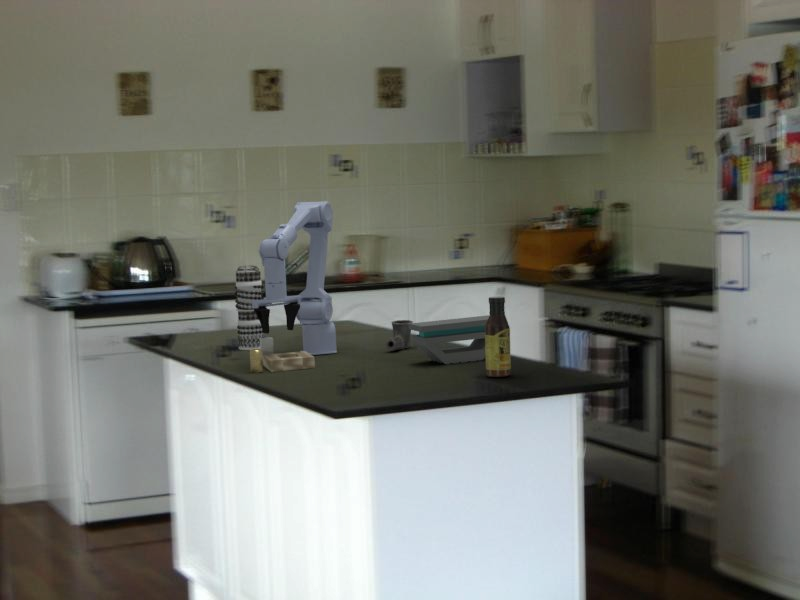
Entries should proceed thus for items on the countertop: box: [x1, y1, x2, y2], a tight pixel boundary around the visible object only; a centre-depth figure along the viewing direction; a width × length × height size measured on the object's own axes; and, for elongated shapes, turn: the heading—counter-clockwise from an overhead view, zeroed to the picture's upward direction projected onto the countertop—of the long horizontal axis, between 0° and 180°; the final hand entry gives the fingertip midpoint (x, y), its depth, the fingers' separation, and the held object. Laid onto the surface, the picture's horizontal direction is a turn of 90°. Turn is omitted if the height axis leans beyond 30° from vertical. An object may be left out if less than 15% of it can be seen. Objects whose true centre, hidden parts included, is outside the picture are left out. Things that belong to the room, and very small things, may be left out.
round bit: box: [249, 349, 264, 374], centre depth 339 cm, size 3×3×6 cm
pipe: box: [385, 319, 414, 352], centre depth 368 cm, size 6×13×8 cm, turn 158°
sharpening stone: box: [409, 314, 490, 365], centre depth 344 cm, size 25×8×11 cm, turn 115°
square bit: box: [260, 336, 275, 363], centre depth 354 cm, size 3×3×7 cm
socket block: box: [263, 350, 316, 373], centre depth 345 cm, size 12×12×3 cm
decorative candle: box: [233, 265, 267, 351], centre depth 384 cm, size 9×9×25 cm
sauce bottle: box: [485, 296, 512, 378], centre depth 316 cm, size 6×6×20 cm
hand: (278, 331), depth 348 cm, fingers open, 7 cm apart
